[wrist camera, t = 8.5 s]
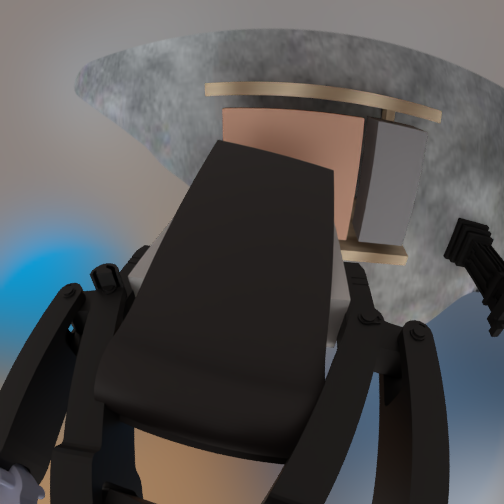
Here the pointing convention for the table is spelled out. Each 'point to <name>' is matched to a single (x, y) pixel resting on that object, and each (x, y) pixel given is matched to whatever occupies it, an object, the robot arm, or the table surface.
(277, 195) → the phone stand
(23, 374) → the robot arm
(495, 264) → the chess piece
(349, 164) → the trapdoor
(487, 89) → the table surface
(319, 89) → the frame
